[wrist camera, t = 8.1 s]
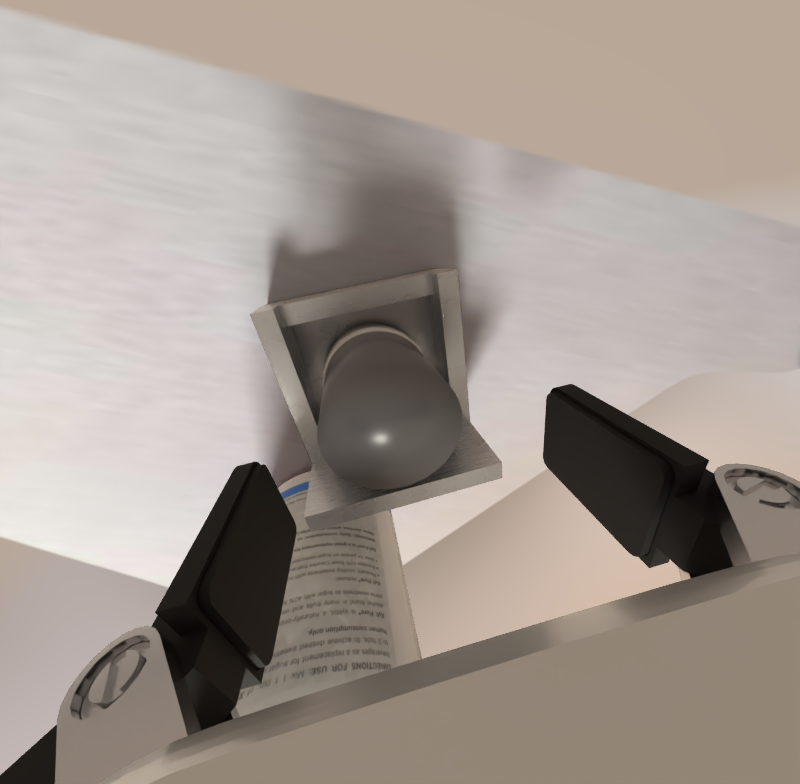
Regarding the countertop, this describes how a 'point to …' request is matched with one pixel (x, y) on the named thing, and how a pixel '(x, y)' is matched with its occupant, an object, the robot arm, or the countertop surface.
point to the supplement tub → (336, 607)
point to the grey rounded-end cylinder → (385, 410)
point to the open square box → (304, 365)
